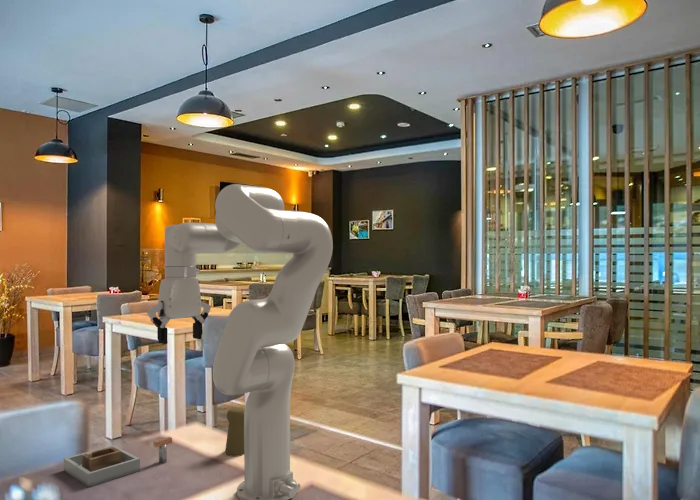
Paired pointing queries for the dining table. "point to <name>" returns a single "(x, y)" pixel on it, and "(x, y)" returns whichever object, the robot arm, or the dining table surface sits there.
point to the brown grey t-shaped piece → (162, 448)
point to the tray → (102, 475)
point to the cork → (235, 431)
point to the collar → (101, 458)
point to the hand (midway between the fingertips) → (180, 340)
